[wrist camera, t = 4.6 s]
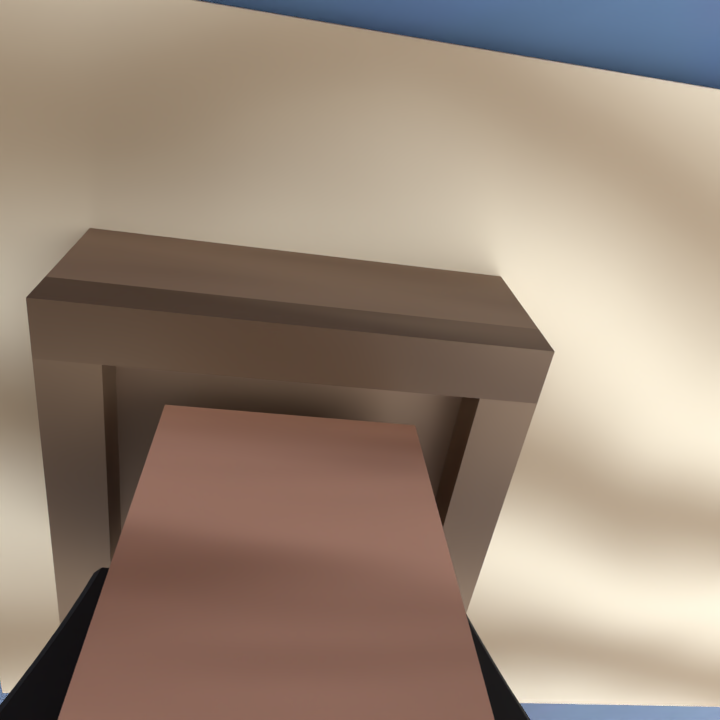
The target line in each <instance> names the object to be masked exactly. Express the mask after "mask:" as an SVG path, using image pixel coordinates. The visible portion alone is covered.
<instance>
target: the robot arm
mask: <svg viewBox="0 0 720 720" xmlns="http://www.w3.org/2000/svg"><path fill="white" fill-rule="evenodd" d="M108 570H109V568H104V567H102V568H100V569H99V570H97V571H96V572H94V573H93V575H92V577H91V578H90V580H89V581H88V583H87V585H86V586H85V588H84V590H83V591H82V593H81V594H80V596H79V597H78V599H77V600H76V602H75V603H74V605H73V606H72V608H71V609H70V611H69V612H68V614H67V615H66V617H65V618H64V620H63V621H62V623H61V624H60V626H59V627H58V628H57V630H56V631H55V633H54V634H53V635H52V637H51V638H50V640H49V641H48V642H47V644H46V645H45V647H44V648H43V649H42V651H41V652H40V654H39V655H38V656H37V658H36V659H35V660H34V662H33V663H32V664H31V666H30V667H29V668H28V669H27V671H26V672H25V673H24V675H23V676H22V677H21V679H20V680H19V681H18V683H17V684H16V685H15V686H14V688H13V689H12V690H11V692H10V693H9V694H8V696H7V697H6V698H5V700H4V701H3V702H2V703H1V705H0V720H58V717H59V714H60V711H61V709H62V706H63V703H64V700H65V697H66V694H67V691H68V688H69V685H70V682H71V679H72V676H73V673H74V670H75V667H76V664H77V662H78V659H79V656H80V653H81V650H82V647H83V644H84V641H85V638H86V635H87V632H88V629H89V626H90V623H91V620H92V617H93V615H94V612H95V609H96V606H97V603H98V600H99V597H100V594H101V591H102V588H103V585H104V582H105V579H106V576H107V573H108ZM466 616H467V614H466ZM467 619H468V623H469V627H470V631H471V634H472V638H473V642H474V645H475V649H476V653H477V657H478V660H479V664H480V668H481V671H482V675H483V679H484V682H485V686H486V690H487V694H488V697H489V701H490V705H491V708H492V712H493V716H494V720H530V718H529V717H528V715H527V714H526V712H525V711H524V709H523V708H522V706H521V704H520V703H519V701H518V700H517V698H516V697H515V695H514V694H513V692H512V690H511V689H510V687H509V686H508V684H507V682H506V681H505V679H504V677H503V676H502V674H501V673H500V671H499V669H498V668H497V666H496V664H495V663H494V661H493V659H492V657H491V656H490V654H489V652H488V651H487V649H486V647H485V646H484V644H483V642H482V640H481V639H480V637H479V635H478V634H477V632H476V630H475V628H474V627H473V625H472V623H471V621H470V619H469V618H468V616H467Z"/></svg>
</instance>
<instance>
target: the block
mask: <svg viewBox="0 0 720 720" xmlns="http://www.w3.org/2000/svg"><path fill="white" fill-rule="evenodd" d="M58 720H494V716H493V712H492V708H491V705H490V701H489V697H488V694H487V690H486V686H485V682H484V679H483V675H482V671H481V668H480V664H479V660H478V657H477V653H476V649H475V645H474V642H473V638H472V634H471V631H470V627H469V623H468V619H467V616H466V612H465V608H464V605H463V601H462V597H461V594H460V590H459V586H458V582H457V579H456V575H455V571H454V568H453V564H452V560H451V557H450V553H449V549H448V545H447V542H446V538H445V534H444V531H443V527H442V523H441V519H440V516H439V512H438V508H437V505H436V501H435V497H434V494H433V490H432V486H431V482H430V479H429V475H428V471H427V468H426V464H425V460H424V456H423V453H422V449H421V445H420V442H419V438H418V434H417V431H416V427H415V425H406V424H394V423H382V422H370V421H358V420H345V419H333V418H321V417H309V416H297V415H285V414H272V413H260V412H248V411H236V410H224V409H212V408H199V407H187V406H175V405H165V406H164V409H163V412H162V415H161V418H160V421H159V424H158V427H157V429H156V432H155V435H154V438H153V441H152V444H151V447H150V450H149V453H148V456H147V459H146V462H145V465H144V468H143V471H142V474H141V476H140V479H139V482H138V485H137V488H136V491H135V494H134V497H133V500H132V503H131V506H130V509H129V512H128V515H127V518H126V521H125V523H124V526H123V529H122V532H121V535H120V538H119V541H118V544H117V547H116V550H115V553H114V556H113V559H112V562H111V565H110V568H109V570H108V573H107V576H106V579H105V582H104V585H103V588H102V591H101V594H100V597H99V600H98V603H97V606H96V609H95V612H94V615H93V617H92V620H91V623H90V626H89V629H88V632H87V635H86V638H85V641H84V644H83V647H82V650H81V653H80V656H79V659H78V662H77V664H76V667H75V670H74V673H73V676H72V679H71V682H70V685H69V688H68V691H67V694H66V697H65V700H64V703H63V706H62V709H61V711H60V714H59V717H58Z"/></svg>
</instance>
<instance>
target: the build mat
mask: <svg viewBox="0 0 720 720" xmlns="http://www.w3.org/2000/svg"><path fill="white" fill-rule="evenodd" d="M165 405H175V406H187V407H199V408H212V409H224V410H236V411H248V412H260V413H272V414H285V415H297V416H309V417H321V418H333V419H345V420H358V421H370V422H382V423H394V424H406V425H415V427H416V431H417V434H418V438H419V442H420V445H421V449H422V453H423V456H424V460H425V464H426V468H427V471H428V475H429V479H430V482H431V486H432V490H433V494H434V497H435V501H436V505H437V508H438V512H439V516H440V519H441V523H442V527H443V531H444V534H445V538H446V542H447V545H448V549H449V553H450V557H451V560H452V564H453V568H454V571H455V575H456V579H457V582H458V586H459V590H460V594H461V597H462V601H463V605H464V608H465V612H466V614H467V616H468V618H469V619H470V621H471V623H472V625H473V627H474V628H475V630H476V632H477V634H478V635H479V637H480V639H481V640H482V642H483V644H484V646H485V647H486V649H487V651H488V652H489V654H490V656H491V657H492V659H493V661H494V663H495V664H496V666H497V668H498V669H499V671H500V673H501V674H502V676H503V677H504V679H505V681H506V682H507V684H508V686H509V687H510V689H511V690H512V692H513V694H514V695H515V697H516V698H517V700H518V701H519V703H552V704H603V705H655V706H707V707H720V89H716V88H711V87H705V86H699V85H693V84H687V83H681V82H675V81H669V80H664V79H658V78H652V77H646V76H640V75H634V74H628V73H622V72H617V71H611V70H605V69H599V68H593V67H587V66H581V65H575V64H570V63H564V62H558V61H552V60H546V59H540V58H534V57H528V56H523V55H517V54H511V53H505V52H499V51H493V50H487V49H481V48H476V47H470V46H464V45H458V44H452V43H446V42H440V41H434V40H429V39H423V38H417V37H411V36H405V35H399V34H393V33H387V32H382V31H376V30H370V29H364V28H358V27H352V26H346V25H340V24H335V23H329V22H323V21H317V20H311V19H305V18H299V17H293V16H288V15H282V14H276V13H270V12H264V11H258V10H252V9H246V8H241V7H235V6H229V5H223V4H217V3H211V2H205V1H199V0H0V681H1V686H2V692H3V693H10V692H11V690H12V689H13V688H14V686H15V685H16V684H17V683H18V681H19V680H20V679H21V677H22V676H23V675H24V673H25V672H26V671H27V669H28V668H29V667H30V666H31V664H32V663H33V662H34V660H35V659H36V658H37V656H38V655H39V654H40V652H41V651H42V649H43V648H44V647H45V645H46V644H47V642H48V641H49V640H50V638H51V637H52V635H53V634H54V633H55V631H56V630H57V628H58V627H59V626H60V624H61V623H62V621H63V620H64V618H65V617H66V615H67V614H68V612H69V611H70V609H71V608H72V606H73V605H74V603H75V602H76V600H77V599H78V597H79V596H80V594H81V593H82V591H83V590H84V588H85V586H86V585H87V583H88V581H89V580H90V578H91V577H92V575H93V573H94V572H96V571H97V570H99V569H100V568H102V567H104V568H110V565H111V562H112V559H113V556H114V553H115V550H116V547H117V544H118V541H119V538H120V535H121V532H122V529H123V526H124V523H125V521H126V518H127V515H128V512H129V509H130V506H131V503H132V500H133V497H134V494H135V491H136V488H137V485H138V482H139V479H140V476H141V474H142V471H143V468H144V465H145V462H146V459H147V456H148V453H149V450H150V447H151V444H152V441H153V438H154V435H155V432H156V429H157V427H158V424H159V421H160V418H161V415H162V412H163V409H164V406H165Z"/></svg>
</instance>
